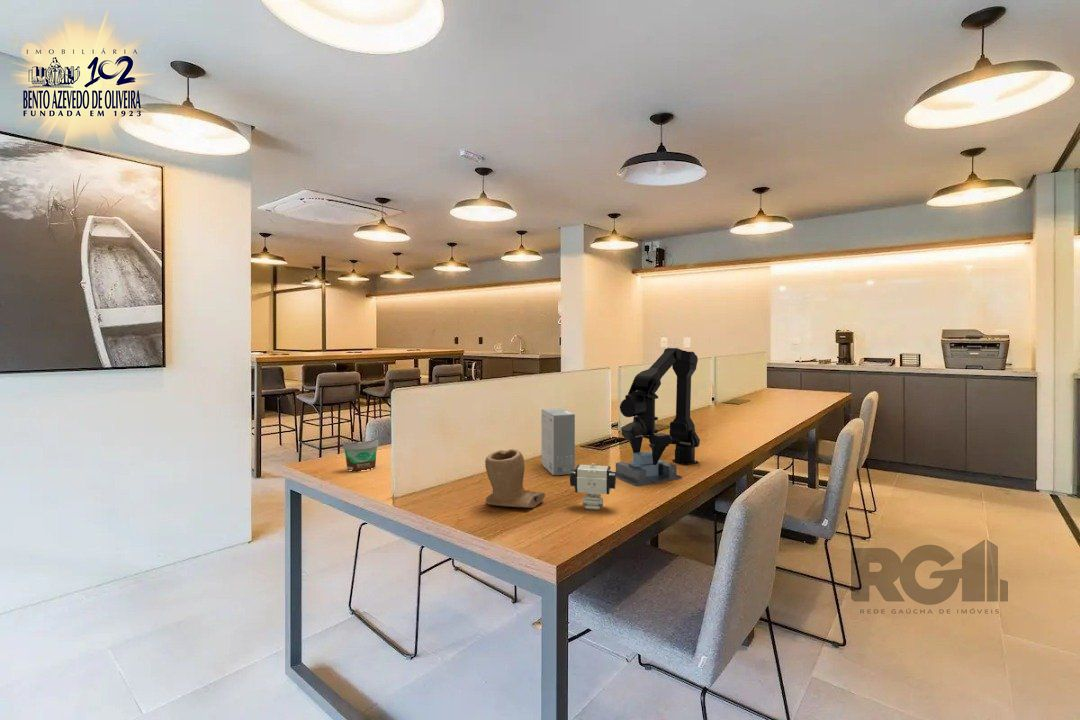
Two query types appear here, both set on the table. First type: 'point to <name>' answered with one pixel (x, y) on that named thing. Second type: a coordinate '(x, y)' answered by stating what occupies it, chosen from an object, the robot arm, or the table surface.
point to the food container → (361, 455)
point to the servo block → (645, 463)
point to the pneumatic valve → (593, 483)
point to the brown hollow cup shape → (509, 480)
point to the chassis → (638, 475)
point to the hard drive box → (558, 441)
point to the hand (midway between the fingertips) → (645, 461)
